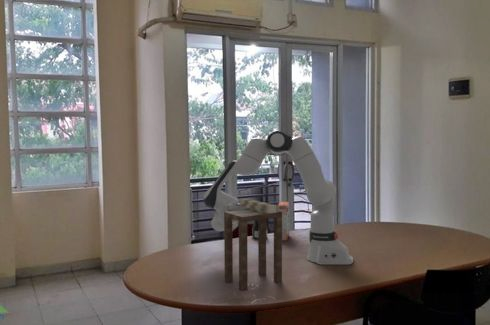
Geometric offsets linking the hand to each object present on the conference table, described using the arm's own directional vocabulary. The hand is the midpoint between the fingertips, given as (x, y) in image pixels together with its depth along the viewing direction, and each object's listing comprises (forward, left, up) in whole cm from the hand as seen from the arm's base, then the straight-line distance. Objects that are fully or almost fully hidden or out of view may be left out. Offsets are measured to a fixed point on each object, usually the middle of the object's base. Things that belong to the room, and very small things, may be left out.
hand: (245, 203), depth 206 cm
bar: (-7, +7, -1) cm, 10 cm away
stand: (-6, +12, -32) cm, 34 cm away
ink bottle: (+5, -65, -32) cm, 72 cm away
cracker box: (-9, -67, -32) cm, 74 cm away
